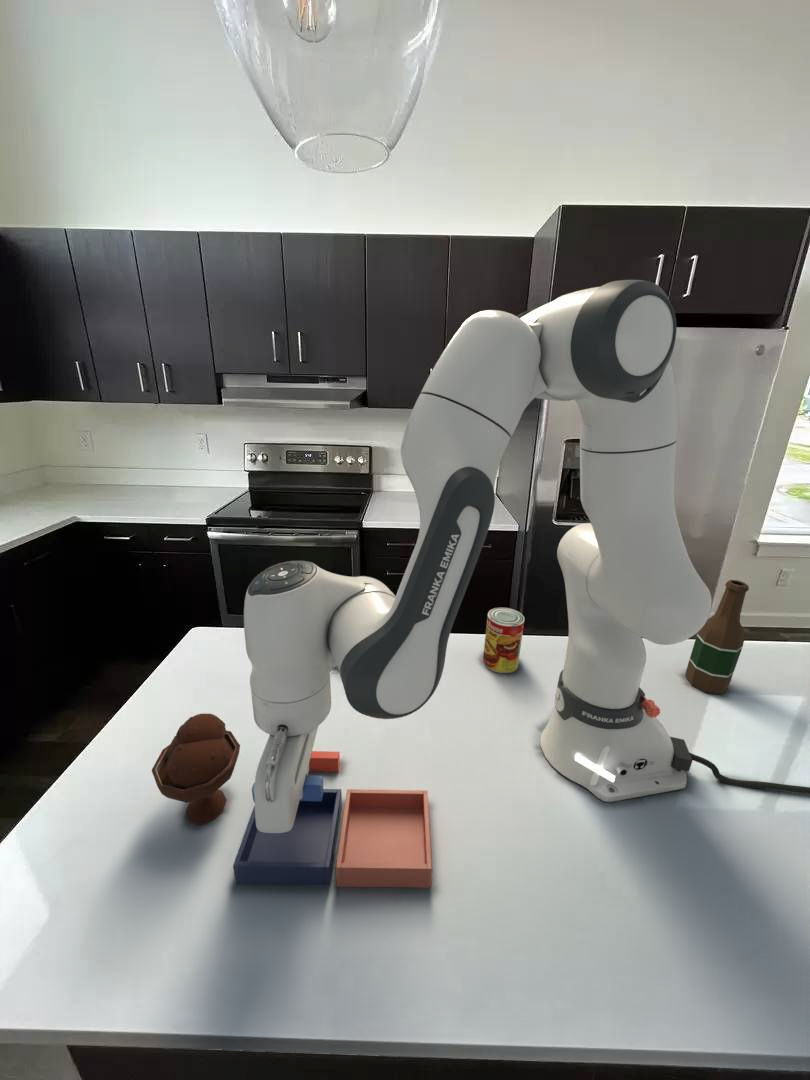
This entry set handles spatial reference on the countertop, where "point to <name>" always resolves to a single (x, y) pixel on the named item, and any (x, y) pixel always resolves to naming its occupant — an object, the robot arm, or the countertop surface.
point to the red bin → (385, 839)
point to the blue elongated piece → (309, 788)
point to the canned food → (503, 639)
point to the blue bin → (293, 847)
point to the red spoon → (324, 761)
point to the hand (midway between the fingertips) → (299, 784)
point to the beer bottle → (719, 643)
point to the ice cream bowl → (198, 766)
